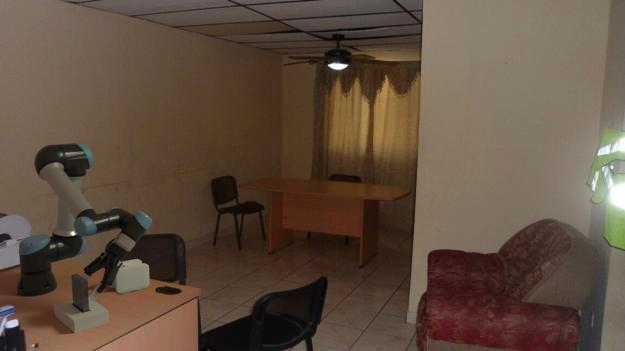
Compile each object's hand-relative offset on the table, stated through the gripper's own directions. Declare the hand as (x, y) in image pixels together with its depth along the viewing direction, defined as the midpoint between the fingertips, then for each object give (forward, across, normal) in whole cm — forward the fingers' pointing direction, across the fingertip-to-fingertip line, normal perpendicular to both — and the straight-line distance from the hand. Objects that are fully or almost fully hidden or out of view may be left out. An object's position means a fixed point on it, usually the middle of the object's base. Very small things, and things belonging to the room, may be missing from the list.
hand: (82, 294), depth 173 cm
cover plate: (+7, +1, -6) cm, 10 cm away
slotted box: (+8, +1, -7) cm, 11 cm away
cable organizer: (-11, +20, -27) cm, 36 cm away
